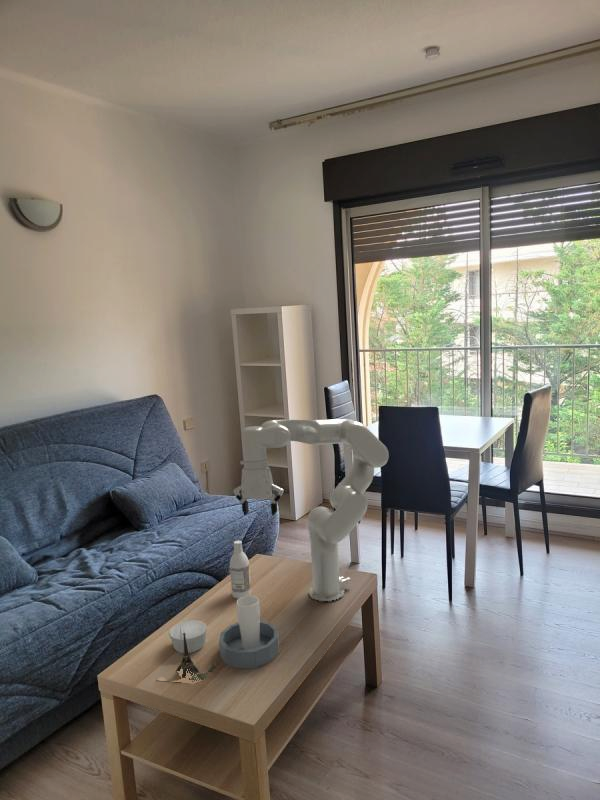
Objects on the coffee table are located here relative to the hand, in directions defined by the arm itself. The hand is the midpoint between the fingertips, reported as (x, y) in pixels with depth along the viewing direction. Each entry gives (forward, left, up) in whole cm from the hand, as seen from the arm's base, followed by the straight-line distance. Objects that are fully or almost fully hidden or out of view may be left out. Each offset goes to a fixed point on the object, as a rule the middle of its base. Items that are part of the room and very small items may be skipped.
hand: (260, 513), depth 193 cm
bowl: (+16, +19, -34) cm, 42 cm away
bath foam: (+3, -15, -34) cm, 37 cm away
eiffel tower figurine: (+35, +18, -35) cm, 53 cm away
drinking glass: (+15, +19, -33) cm, 41 cm away
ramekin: (+30, +5, -34) cm, 46 cm away
